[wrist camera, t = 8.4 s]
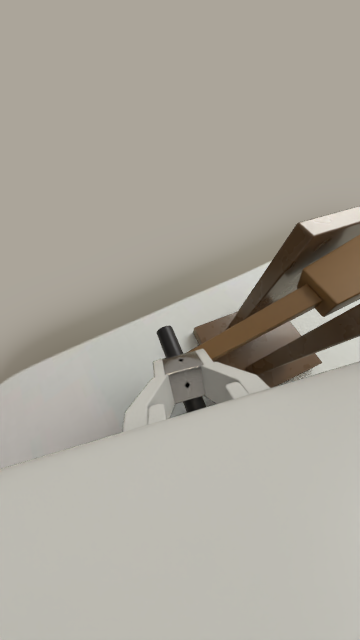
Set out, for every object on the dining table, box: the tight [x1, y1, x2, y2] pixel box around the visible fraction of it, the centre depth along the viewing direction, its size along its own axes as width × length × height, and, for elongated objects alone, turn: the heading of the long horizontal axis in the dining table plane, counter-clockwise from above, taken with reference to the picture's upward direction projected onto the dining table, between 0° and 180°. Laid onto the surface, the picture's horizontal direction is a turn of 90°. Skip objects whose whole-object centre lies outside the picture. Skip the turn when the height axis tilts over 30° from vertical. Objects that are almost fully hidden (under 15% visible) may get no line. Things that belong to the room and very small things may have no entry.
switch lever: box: [157, 235, 360, 413], centre depth 10 cm, size 12×6×2 cm
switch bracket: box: [193, 206, 360, 388], centre depth 12 cm, size 10×8×13 cm
